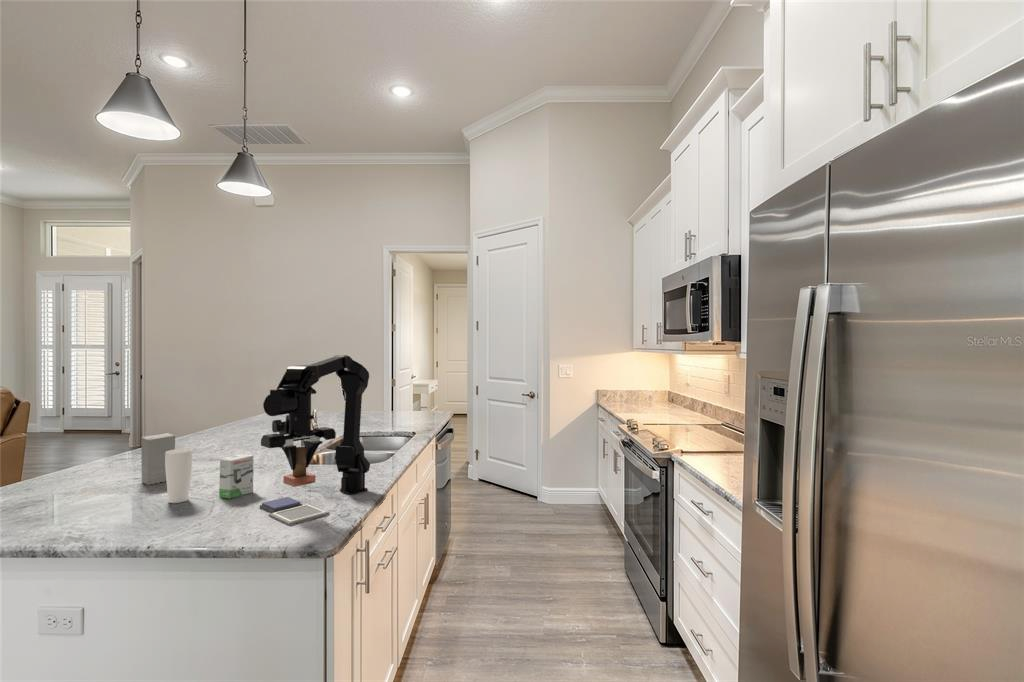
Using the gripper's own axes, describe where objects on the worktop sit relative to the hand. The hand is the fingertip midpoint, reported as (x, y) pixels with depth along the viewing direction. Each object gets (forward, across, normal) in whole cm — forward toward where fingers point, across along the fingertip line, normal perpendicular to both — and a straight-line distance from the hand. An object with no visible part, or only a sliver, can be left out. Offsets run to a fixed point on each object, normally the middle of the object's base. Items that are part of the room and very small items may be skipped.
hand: (299, 468), depth 139 cm
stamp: (+4, 0, 0) cm, 4 cm away
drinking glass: (+13, +17, -39) cm, 45 cm away
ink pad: (+13, 0, -10) cm, 16 cm away
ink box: (+13, +3, -33) cm, 36 cm away
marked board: (+13, 0, 0) cm, 13 cm away
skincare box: (+13, +14, -69) cm, 72 cm away
